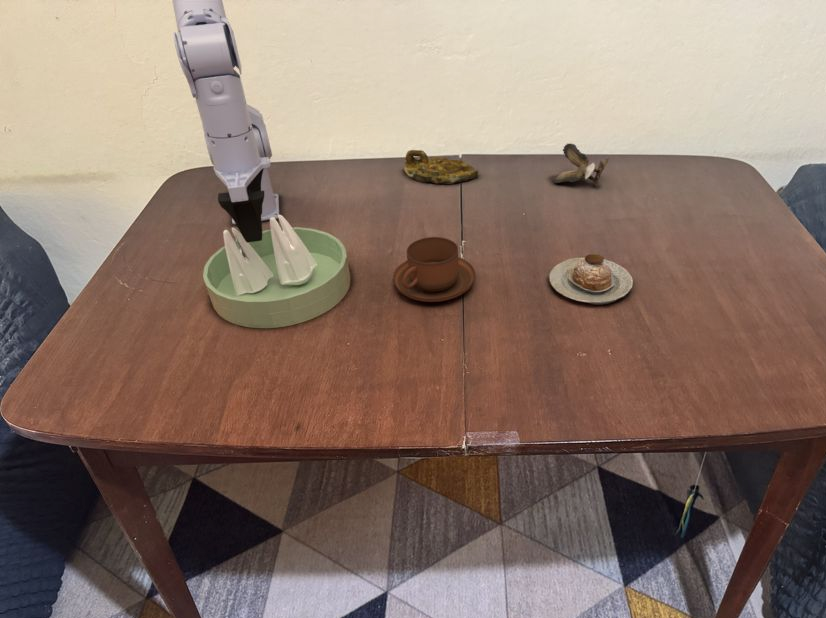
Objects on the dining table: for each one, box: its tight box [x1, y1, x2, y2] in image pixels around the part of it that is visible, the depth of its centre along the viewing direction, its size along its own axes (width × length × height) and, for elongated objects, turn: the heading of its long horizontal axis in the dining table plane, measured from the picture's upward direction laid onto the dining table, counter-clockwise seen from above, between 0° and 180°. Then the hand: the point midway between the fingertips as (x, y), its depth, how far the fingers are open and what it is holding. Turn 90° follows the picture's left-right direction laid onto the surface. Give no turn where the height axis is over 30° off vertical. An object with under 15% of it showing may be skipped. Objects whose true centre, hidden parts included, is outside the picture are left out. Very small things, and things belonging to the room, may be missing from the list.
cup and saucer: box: [392, 236, 476, 303], centre depth 93 cm, size 12×12×6 cm
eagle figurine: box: [551, 143, 610, 188], centre depth 118 cm, size 8×7×9 cm
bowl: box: [202, 226, 352, 329], centre depth 94 cm, size 20×20×4 cm
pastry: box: [548, 253, 634, 306], centre depth 92 cm, size 12×12×5 cm
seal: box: [403, 149, 479, 185], centre depth 124 cm, size 9×5×15 cm
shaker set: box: [222, 214, 317, 296], centre depth 92 cm, size 12×4×11 cm, turn 99°
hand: (254, 227), depth 89 cm, fingers open, 7 cm apart
